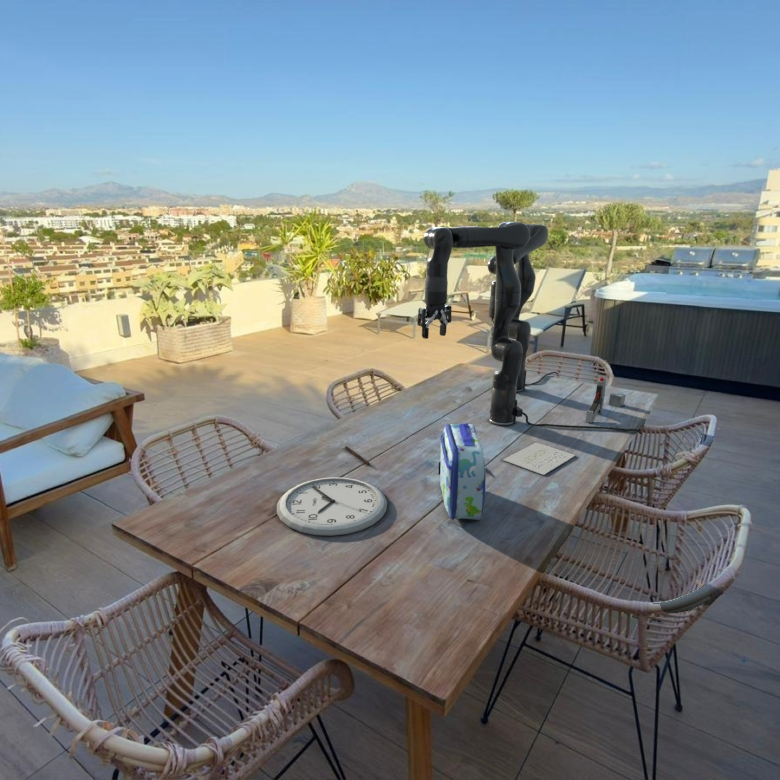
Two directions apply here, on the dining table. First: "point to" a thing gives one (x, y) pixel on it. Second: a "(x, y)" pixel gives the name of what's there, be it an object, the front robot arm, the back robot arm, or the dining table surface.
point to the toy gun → (597, 401)
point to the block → (617, 399)
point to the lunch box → (462, 472)
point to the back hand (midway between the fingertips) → (495, 344)
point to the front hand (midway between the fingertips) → (434, 336)
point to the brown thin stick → (357, 455)
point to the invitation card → (539, 458)
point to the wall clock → (331, 506)
